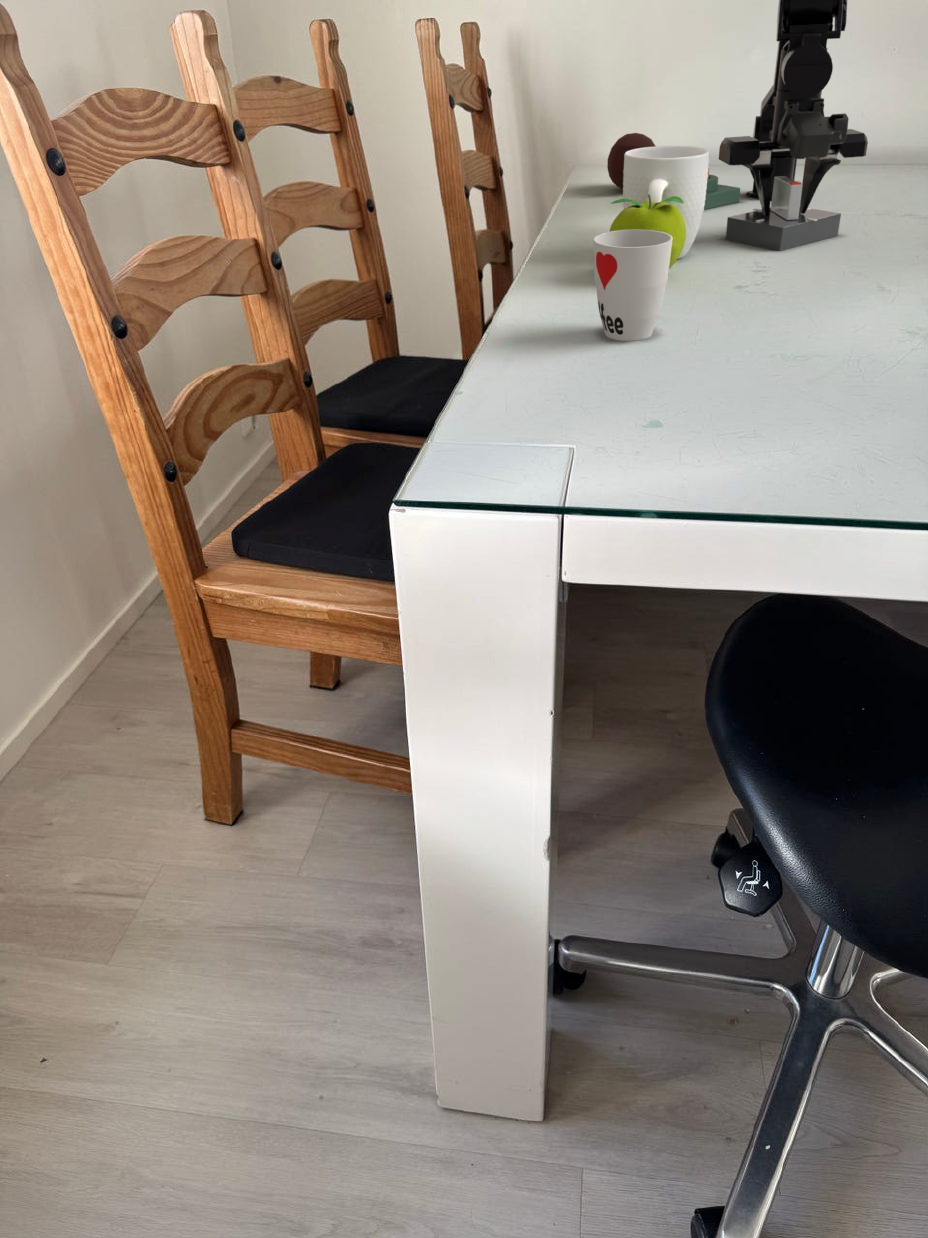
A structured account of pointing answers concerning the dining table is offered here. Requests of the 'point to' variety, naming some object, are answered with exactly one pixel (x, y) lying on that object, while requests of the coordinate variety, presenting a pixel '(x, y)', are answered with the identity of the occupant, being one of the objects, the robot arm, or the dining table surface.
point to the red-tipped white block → (786, 197)
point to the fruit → (654, 221)
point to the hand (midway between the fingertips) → (784, 214)
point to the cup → (631, 280)
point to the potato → (619, 151)
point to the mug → (669, 181)
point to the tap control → (720, 193)
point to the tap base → (782, 228)
